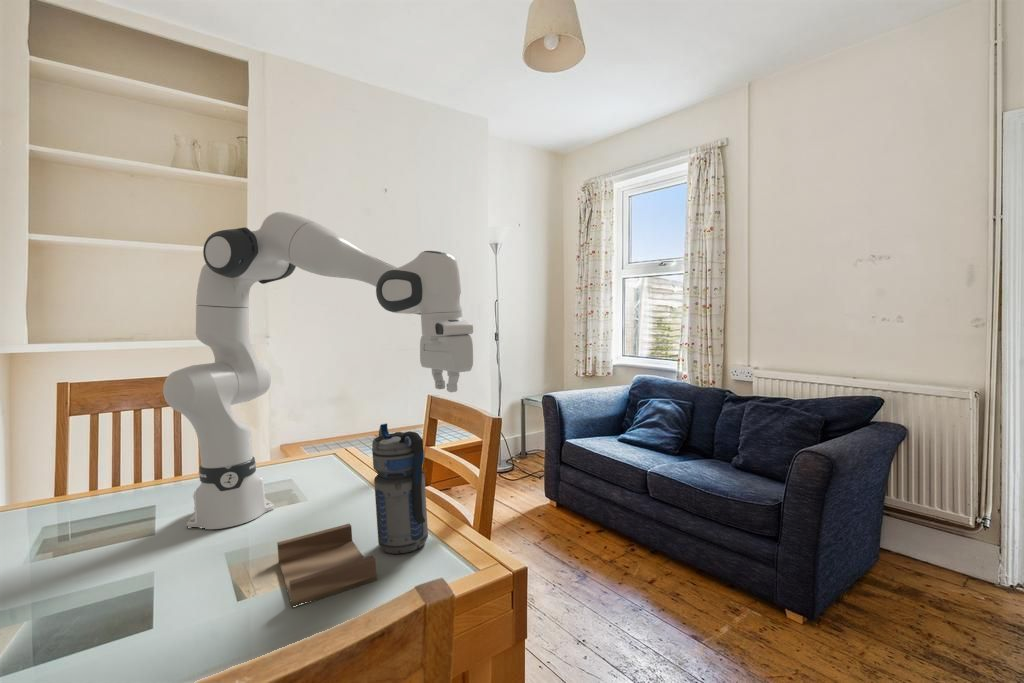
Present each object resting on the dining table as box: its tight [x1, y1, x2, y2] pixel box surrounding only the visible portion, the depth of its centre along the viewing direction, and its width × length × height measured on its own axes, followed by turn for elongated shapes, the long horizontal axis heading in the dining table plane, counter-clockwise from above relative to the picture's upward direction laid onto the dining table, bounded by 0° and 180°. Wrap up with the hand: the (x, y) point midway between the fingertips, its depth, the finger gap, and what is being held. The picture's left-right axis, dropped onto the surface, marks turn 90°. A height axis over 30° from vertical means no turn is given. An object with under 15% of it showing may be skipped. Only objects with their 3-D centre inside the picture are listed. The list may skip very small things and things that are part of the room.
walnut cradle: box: [276, 523, 378, 608], centre depth 91 cm, size 19×14×4 cm
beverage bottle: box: [371, 423, 429, 555], centre depth 99 cm, size 10×13×25 cm
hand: (446, 390), depth 104 cm, fingers open, 5 cm apart
